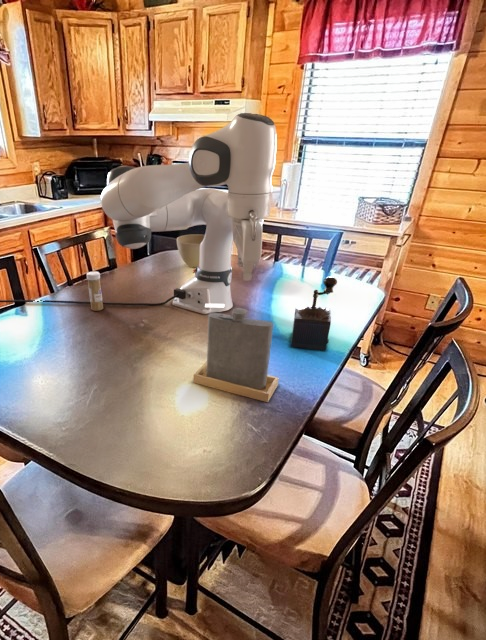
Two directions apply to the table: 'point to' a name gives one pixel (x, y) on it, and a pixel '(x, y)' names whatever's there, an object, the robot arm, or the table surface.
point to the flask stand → (262, 395)
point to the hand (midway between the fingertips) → (243, 272)
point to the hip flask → (238, 349)
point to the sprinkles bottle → (95, 290)
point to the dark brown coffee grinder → (313, 322)
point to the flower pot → (190, 248)
